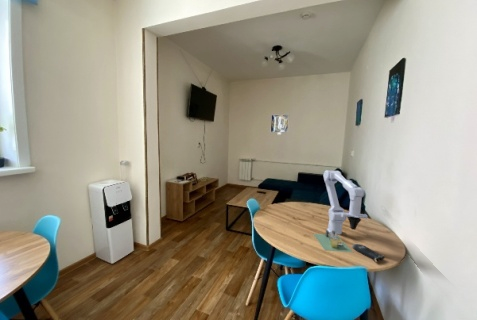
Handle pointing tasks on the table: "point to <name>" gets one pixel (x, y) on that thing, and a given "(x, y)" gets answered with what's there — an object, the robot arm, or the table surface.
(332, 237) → the silver long flat bar
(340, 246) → the board
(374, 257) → the electronic device
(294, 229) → the table surface
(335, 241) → the tan stepped block
